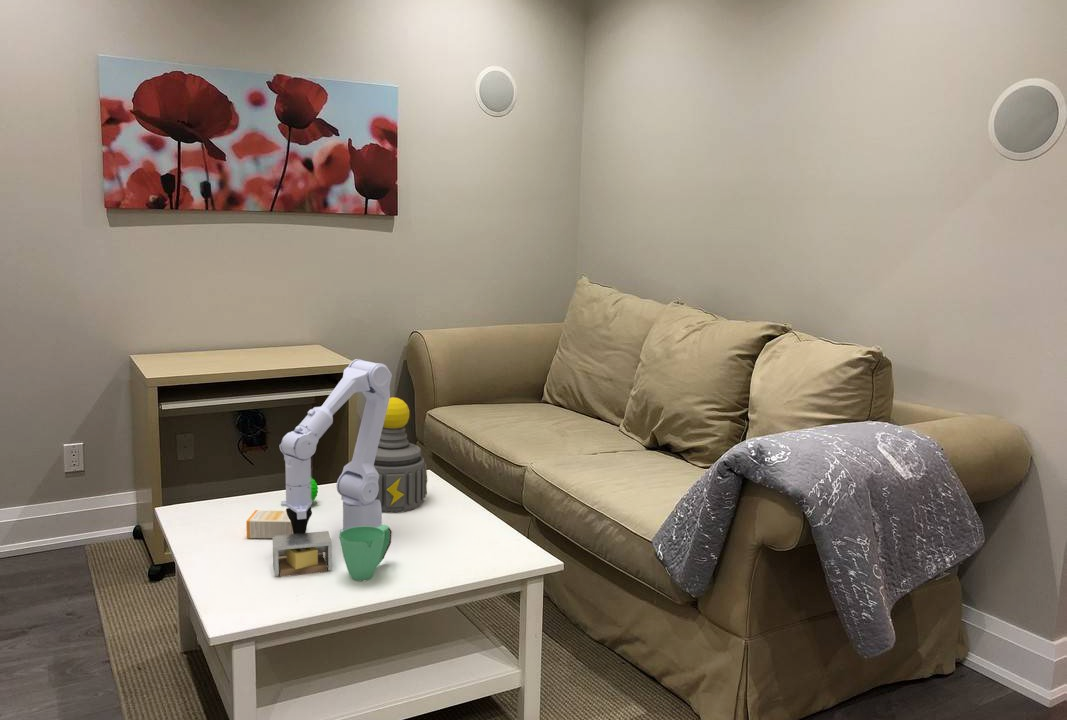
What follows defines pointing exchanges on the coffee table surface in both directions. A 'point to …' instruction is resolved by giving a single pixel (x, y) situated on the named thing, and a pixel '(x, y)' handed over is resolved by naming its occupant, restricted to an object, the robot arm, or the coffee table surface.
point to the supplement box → (268, 524)
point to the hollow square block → (302, 557)
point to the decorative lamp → (399, 463)
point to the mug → (364, 549)
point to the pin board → (289, 570)
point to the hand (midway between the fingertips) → (299, 538)
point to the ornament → (313, 489)
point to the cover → (302, 545)
